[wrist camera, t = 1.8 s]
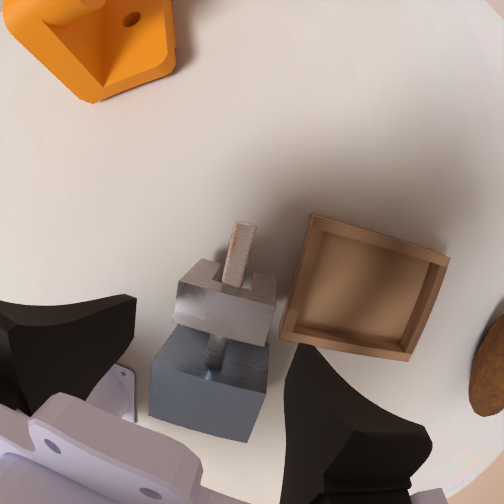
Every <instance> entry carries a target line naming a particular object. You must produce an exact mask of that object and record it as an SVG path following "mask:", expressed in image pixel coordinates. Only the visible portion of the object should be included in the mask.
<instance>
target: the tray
mask: <svg viewBox="0 0 504 504" xmlns="http://www.w3.org/2000/svg"><path fill="white" fill-rule="evenodd" d="M449 260H450V258H449V257H447V256H445V255H442V254H440V253H438V252H435V251H432V250H429V249H426V248H423V247H420V246H417V245H414V244H411V243H408V242H405V241H402V240H399V239H396V238H393V237H389V236H386V235H383V234H380V233H377V232H373V231H370V230H367V229H363V228H360V227H357V226H353V225H350V224H346V223H343V222H339V221H336V220H332V219H329V218H325V217H322V216H318V215H314V214H311V217H310V221H309V225H308V228H307V232H306V236H305V239H304V243H303V247H302V250H301V254H300V257H299V261H298V264H297V268H296V271H295V275H294V278H293V282H292V285H291V288H290V292H289V295H288V298H287V302H286V305H285V308H284V312H283V315H282V318H281V321H280V324H279V339H282V340H286V341H291V342H295V343H299V342H300V343H305V344H310V345H313V346H315V347H320V348H325V349H330V350H336V351H341V352H347V353H353V354H359V355H365V356H371V357H377V358H384V359H391V360H398V361H406V362H408V361H409V359H410V357H411V355H412V353H413V351H414V349H415V347H416V345H417V342H418V340H419V338H420V336H421V334H422V332H423V329H424V327H425V325H426V322H427V320H428V318H429V315H430V313H431V310H432V308H433V306H434V303H435V300H436V298H437V295H438V293H439V290H440V287H441V284H442V281H443V279H444V276H445V273H446V270H447V267H448V264H449Z"/></svg>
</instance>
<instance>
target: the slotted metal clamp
mask: <svg viewBox="0 0 504 504" xmlns="http://www.w3.org/2000/svg"><path fill="white" fill-rule="evenodd" d="M221 267H222V264H221V263H217V262H213V261H209V260H206V259H201V260H200V261H199V262H198V263H197V264H196V265H195V266H194V267H193V268H191V269H190V270H189V271H188V272H187V273H186V274H185V275H184V276H183V277H182V278H181V279H180V280H179V282H178V288H177V294H176V301H175V307H174V314H173V321H172V322H174V323H177V324H180V325H184V326H187V327H190V328H194V329H197V330H201V331H204V332H208V333H211V334H215V335H219V336H223V337H226V338H230V339H234V340H238V341H242V342H246V343H250V344H254V345H258V346H263V347H264V345H265V341H266V338H267V335H268V332H269V328H270V325H271V322H272V318H273V315H274V312H275V308H276V277H272V276H268V275H264V274H260V273H256V272H255V274H254V278H253V282H252V286H251V290H248V289H244V288H240V287H236V286H232V285H229V284H225V283H221V282H218V281H219V276H220V272H221Z"/></svg>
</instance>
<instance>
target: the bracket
mask: <svg viewBox="0 0 504 504" xmlns="http://www.w3.org/2000/svg"><path fill="white" fill-rule="evenodd" d="M3 18H4V22H5V24H6V26H7V28H8V30H9V31H10V33H11V34H12V35H13V36H14V37H15V38H16V39H17V40H18V41H19V42H20V43H21V44H22V45H23V46H24V47H25V48H26V49H27V50H28V51H29V52H31V53H32V54H33V55H34V56H35V57H36V58H37V59H38V60H39V61H40V62H41V63H42V64H43V65H44V66H45V67H46V68H47V69H48V70H49V71H51V72H52V73H53V74H54V75H55V76H56V77H57V78H58V79H59V80H60V81H61V82H62V83H63V84H64V85H65V86H66V87H67V88H69V89H70V90H71V91H72V92H73V93H74V94H75V95H76V96H77V97H78V98H79V99H81V100H84V101H86V102H89V103H91V104H94V103H97V102H99V101H101V100H103V99H106V98H108V97H110V96H113V95H115V94H117V93H120V92H122V91H125V90H127V89H130V88H132V87H135V86H138V85H140V84H143V83H146V82H149V81H152V80H155V79H157V78H160V77H164V76H166V75H168V74H169V73H171V72H172V71H173V69H174V68H175V65H176V57H175V49H177V44H176V36H175V27H174V18H173V9H172V1H171V0H5V1H4V5H3Z"/></svg>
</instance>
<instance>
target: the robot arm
mask: <svg viewBox="0 0 504 504" xmlns="http://www.w3.org/2000/svg"><path fill="white" fill-rule="evenodd" d="M136 303H137V298H135V297H132V296H129V295H126V294H121V295H115V296H110V297H105V298H101V299H96V300H92V301H86V302H80V303H75V304H68V305H56V306H34V305H22V304H15V303H9V302H4V301H0V504H250V503H247V502H244V501H241V500H238V499H235V498H232V497H229V496H226V495H224V494H221V493H218V492H216V491H213V490H211V489H208V488H206V487H203V486H201V484H200V481H201V477H202V474H203V468H202V464H201V461H200V458H199V457H197V456H196V455H195V454H194V453H193V452H192V451H191V450H190V449H189V448H188V447H186V446H185V445H184V444H183V443H180V442H178V441H176V440H174V439H172V438H170V437H168V436H166V435H164V434H161V433H158V432H155V431H152V430H150V429H147V428H144V427H142V426H139V425H137V424H135V413H134V390H135V375H134V373H133V372H132V371H131V370H129V369H126V368H124V367H121V366H119V365H116V364H115V363H116V362H117V361H118V359H119V358H120V357H121V356H122V355H123V354H124V352H125V351H126V349H127V348H128V346H129V345H130V343H131V341H132V340H133V338H134V328H135V315H136ZM284 413H285V429H286V454H285V466H284V475H283V484H282V491H281V498H280V504H448V503H447V500H446V498H445V495H444V493H443V490H442V488H437V489H432V490H427V491H421V492H418V493H415V494H413V495H411V496H409V493H408V490H407V489H410V488H411V486H412V484H411V481H410V477H411V476H412V475H413V474H414V473H415V472H416V471H417V470H418V469H419V468H420V467H421V466H422V464H423V463H424V462H425V461H426V459H427V458H428V457H429V455H430V453H431V451H432V441H431V439H430V437H429V435H428V433H427V431H426V429H425V427H424V426H422V425H419V424H417V423H414V422H411V421H408V420H405V419H403V418H400V417H398V416H396V415H394V414H392V413H390V412H388V411H386V410H384V409H382V408H381V407H379V406H377V405H376V404H374V403H373V402H371V401H369V400H368V399H367V398H365V397H364V396H362V395H361V394H360V393H359V392H357V391H356V390H355V389H354V388H352V387H351V386H350V385H349V384H348V383H347V382H346V381H345V380H344V379H343V378H342V377H341V376H340V375H339V374H338V373H337V372H336V371H335V370H334V369H333V368H332V366H331V365H330V364H329V363H328V362H327V361H326V359H325V358H324V357H323V356H322V355H321V354H320V352H319V351H318V350H317V349H316V348H315V347H314V346H313V345H310V344H305V343H300V342H299V344H298V347H297V349H296V352H295V355H294V358H293V360H292V363H291V366H290V368H289V371H288V373H287V376H286V379H285V387H284Z"/></svg>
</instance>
